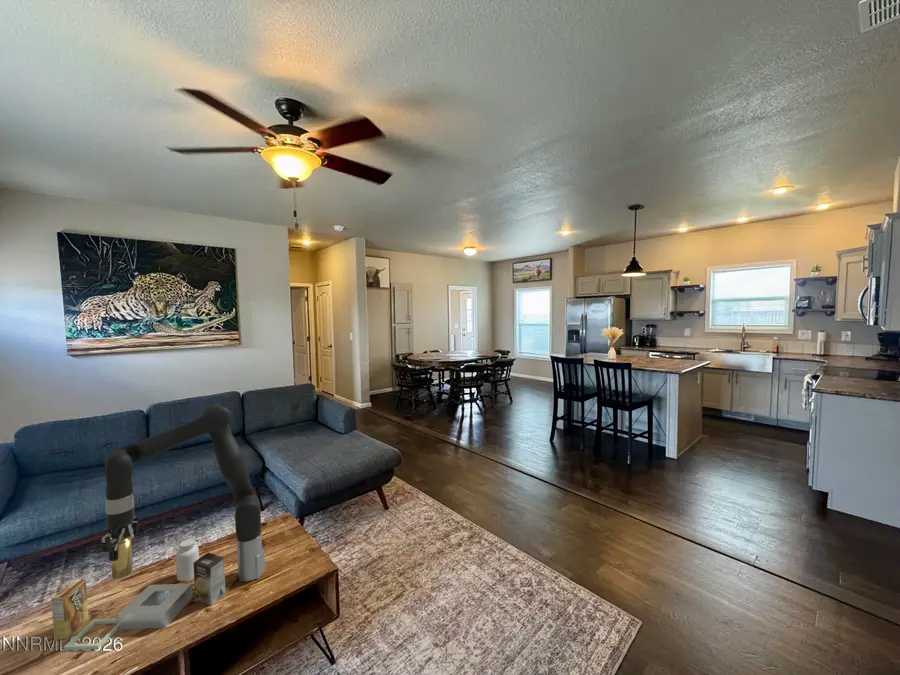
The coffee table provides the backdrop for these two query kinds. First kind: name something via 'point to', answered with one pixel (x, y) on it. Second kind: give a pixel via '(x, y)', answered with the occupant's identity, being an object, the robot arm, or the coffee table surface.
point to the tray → (97, 621)
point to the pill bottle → (186, 559)
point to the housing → (155, 606)
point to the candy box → (69, 609)
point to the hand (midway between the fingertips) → (121, 554)
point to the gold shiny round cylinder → (123, 558)
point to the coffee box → (209, 578)
